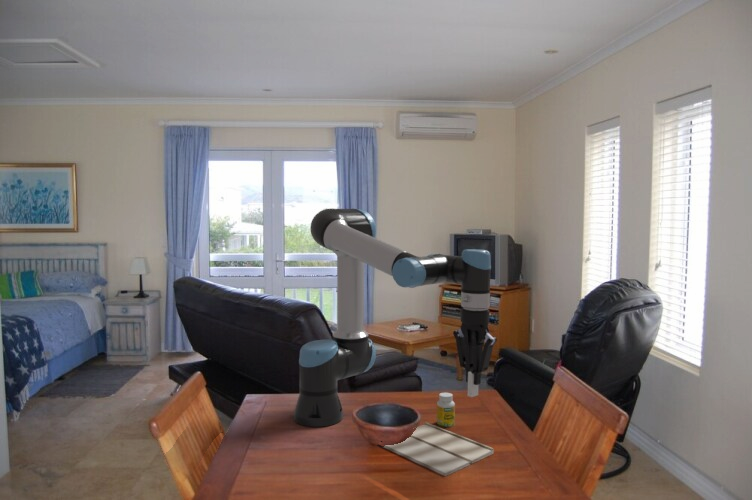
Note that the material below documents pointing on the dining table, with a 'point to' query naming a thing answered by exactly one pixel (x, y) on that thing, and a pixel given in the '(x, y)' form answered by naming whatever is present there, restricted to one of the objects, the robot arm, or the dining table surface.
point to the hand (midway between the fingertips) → (472, 395)
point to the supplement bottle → (445, 410)
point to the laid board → (428, 456)
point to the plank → (452, 443)
